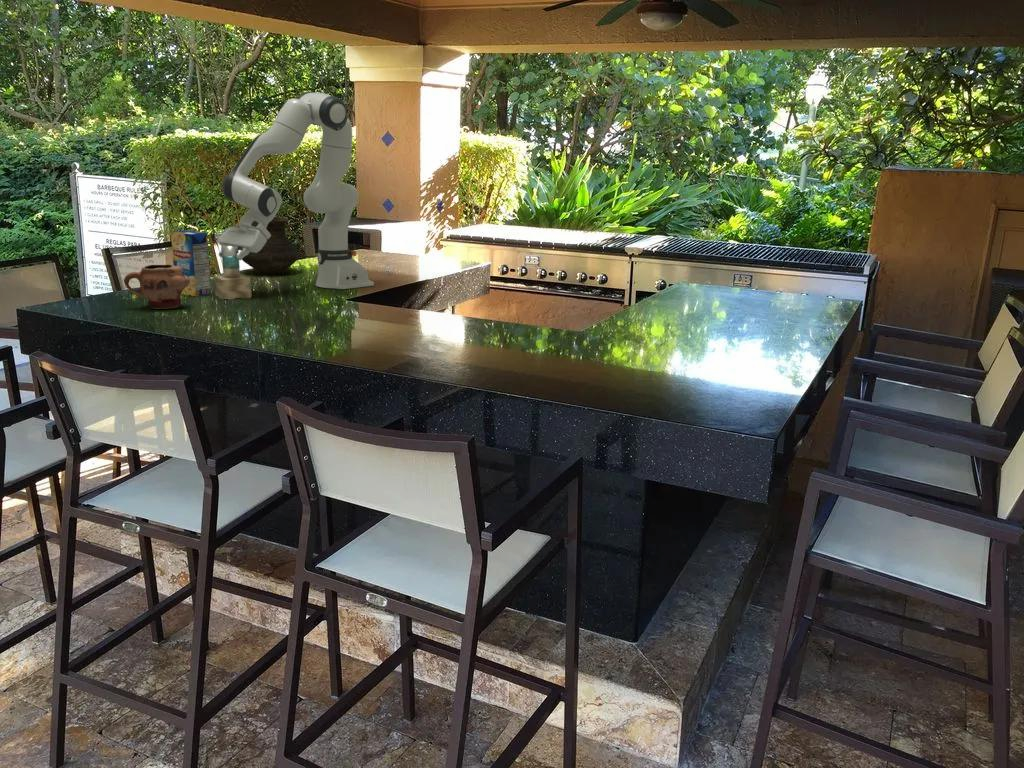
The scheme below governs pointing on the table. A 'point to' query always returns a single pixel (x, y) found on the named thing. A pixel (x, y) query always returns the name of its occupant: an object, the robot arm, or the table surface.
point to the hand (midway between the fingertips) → (229, 257)
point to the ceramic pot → (274, 250)
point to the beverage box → (192, 260)
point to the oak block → (232, 287)
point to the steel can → (230, 261)
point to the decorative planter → (160, 285)
